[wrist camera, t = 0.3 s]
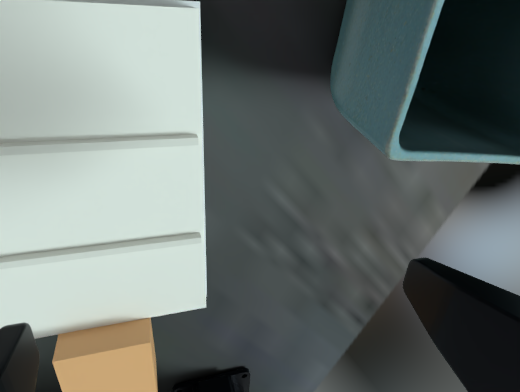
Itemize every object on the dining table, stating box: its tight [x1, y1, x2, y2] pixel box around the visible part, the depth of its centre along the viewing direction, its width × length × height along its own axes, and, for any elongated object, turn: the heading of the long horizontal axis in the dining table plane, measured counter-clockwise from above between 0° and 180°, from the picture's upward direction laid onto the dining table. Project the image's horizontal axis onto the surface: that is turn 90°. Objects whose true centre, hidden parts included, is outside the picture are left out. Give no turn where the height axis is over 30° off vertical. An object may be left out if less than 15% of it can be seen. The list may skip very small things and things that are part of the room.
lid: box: [0, 0, 206, 392], centre depth 15 cm, size 18×10×2 cm, turn 176°
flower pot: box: [330, 0, 520, 164], centre depth 17 cm, size 9×9×9 cm
